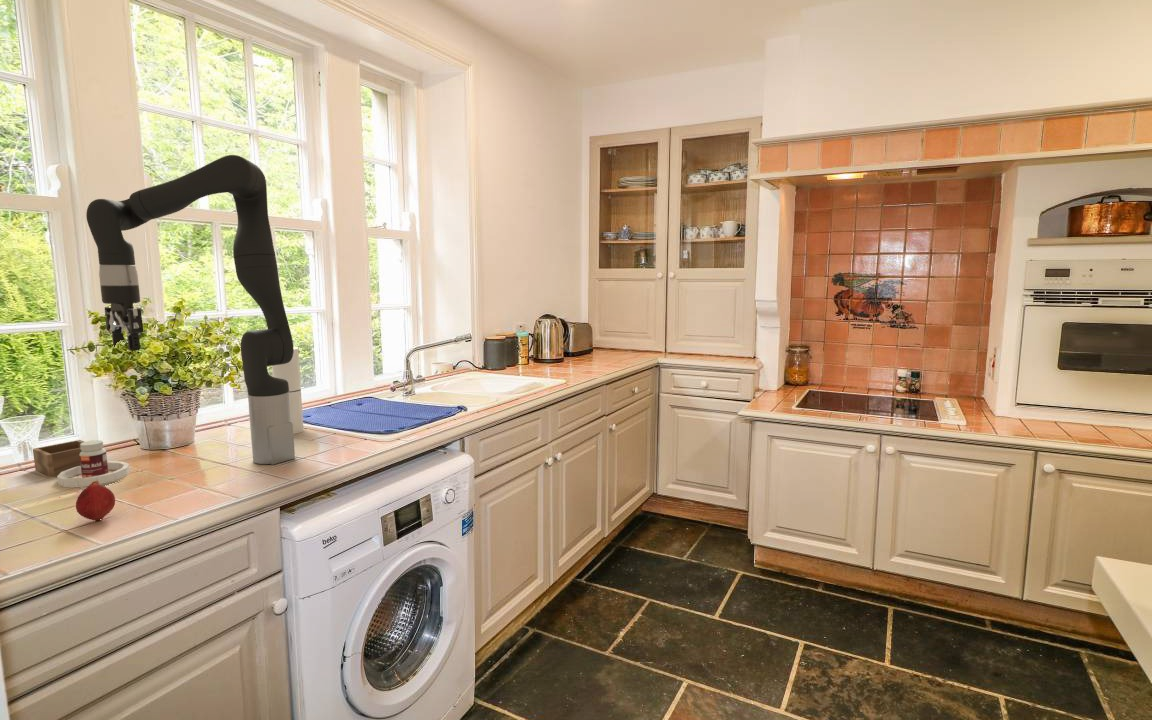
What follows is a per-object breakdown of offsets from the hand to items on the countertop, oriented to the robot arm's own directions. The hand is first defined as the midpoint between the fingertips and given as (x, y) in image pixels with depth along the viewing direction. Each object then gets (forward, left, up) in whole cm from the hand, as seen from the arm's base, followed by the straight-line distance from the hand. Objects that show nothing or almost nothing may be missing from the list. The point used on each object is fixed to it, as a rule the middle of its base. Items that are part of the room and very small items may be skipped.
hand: (126, 349), depth 148 cm
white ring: (-11, +13, -28) cm, 33 cm away
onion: (-38, +22, -28) cm, 52 cm away
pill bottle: (-11, +13, -28) cm, 33 cm away
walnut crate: (+2, +14, -28) cm, 31 cm away
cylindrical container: (-9, -36, -28) cm, 47 cm away
